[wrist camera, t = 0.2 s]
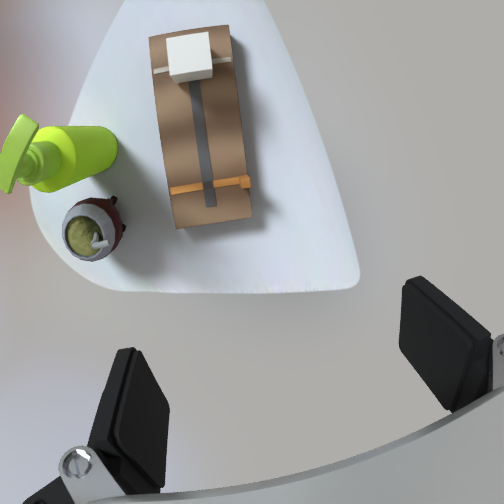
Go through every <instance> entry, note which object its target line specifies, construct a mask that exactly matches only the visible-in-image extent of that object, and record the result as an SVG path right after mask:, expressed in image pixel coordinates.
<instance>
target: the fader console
mask: <svg viewBox="0 0 504 504" xmlns="http://www.w3.org/2000/svg"><path fill="white" fill-rule="evenodd" d="M203 32H208V35H209V44H210V52H211V60H212V78H207V79H200V80H194V81H187V82H182V83H175V82H174V81H173V79H172V78H171V77H170V72H169V63H168V54H167V44H166V38H171V37H177V36H183V35H189V34H196V33H203ZM149 47H150V57H151V67H152V77H153V86H154V94H155V103H156V110H157V118H158V125H159V132H160V139H161V146H162V153H163V159H164V165H165V171H166V177H167V183H168V189H169V195H170V200H171V206H172V211H173V217H174V222H175V227H176V229H180V228H186V227H192V226H198V225H204V224H211V223H217V222H224V221H230V220H237V219H244V218H251V217H252V209H251V201H250V193H249V187H251V183H250V177H249V176H248V175H247V168H246V160H245V152H244V143H243V135H242V127H241V119H240V111H239V103H238V95H237V87H236V79H235V71H234V63H233V55H232V47H231V39H230V31H229V25H220V26H211V27H203V28H196V29H190V30H183V31H177V32H172V33H166V34H161V35H156V36H152V37H149Z"/></svg>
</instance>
